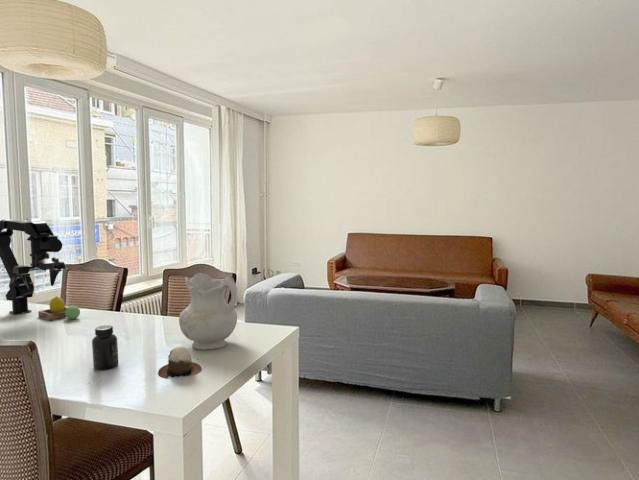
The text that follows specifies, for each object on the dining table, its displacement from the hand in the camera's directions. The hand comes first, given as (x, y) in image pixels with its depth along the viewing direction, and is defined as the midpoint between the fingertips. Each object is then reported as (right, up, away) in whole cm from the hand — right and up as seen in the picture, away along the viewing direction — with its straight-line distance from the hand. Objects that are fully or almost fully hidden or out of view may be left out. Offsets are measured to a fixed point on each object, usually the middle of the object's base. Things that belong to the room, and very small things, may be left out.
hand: (41, 287), depth 194 cm
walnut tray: (+7, -12, 0) cm, 14 cm away
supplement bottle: (+55, -18, -58) cm, 82 cm away
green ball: (+16, -13, -5) cm, 21 cm away
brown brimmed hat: (+78, -18, -61) cm, 101 cm away
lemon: (+7, -12, 0) cm, 14 cm away
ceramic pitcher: (+82, -16, -38) cm, 92 cm away
